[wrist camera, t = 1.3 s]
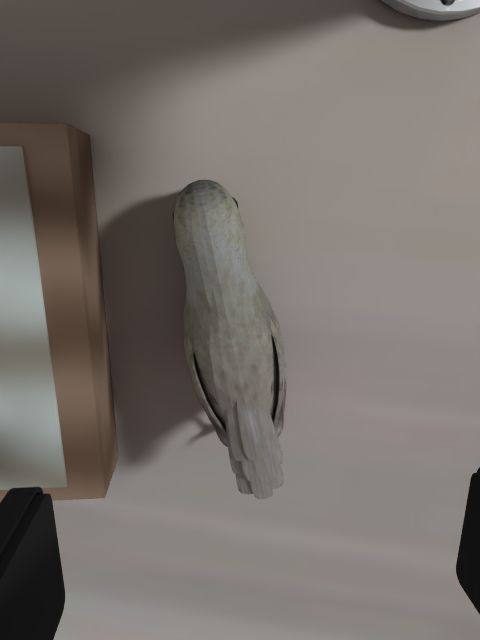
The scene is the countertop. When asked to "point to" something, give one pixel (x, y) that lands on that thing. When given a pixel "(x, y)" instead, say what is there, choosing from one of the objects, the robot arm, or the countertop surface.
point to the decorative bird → (231, 336)
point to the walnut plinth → (52, 318)
